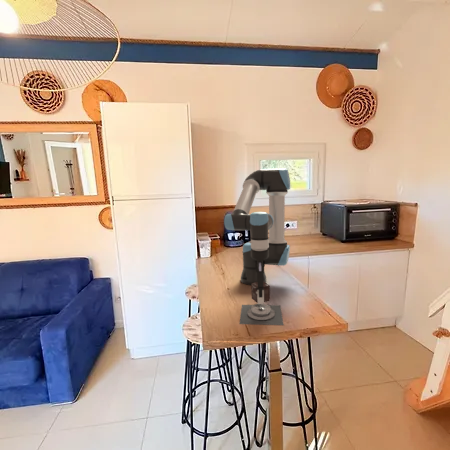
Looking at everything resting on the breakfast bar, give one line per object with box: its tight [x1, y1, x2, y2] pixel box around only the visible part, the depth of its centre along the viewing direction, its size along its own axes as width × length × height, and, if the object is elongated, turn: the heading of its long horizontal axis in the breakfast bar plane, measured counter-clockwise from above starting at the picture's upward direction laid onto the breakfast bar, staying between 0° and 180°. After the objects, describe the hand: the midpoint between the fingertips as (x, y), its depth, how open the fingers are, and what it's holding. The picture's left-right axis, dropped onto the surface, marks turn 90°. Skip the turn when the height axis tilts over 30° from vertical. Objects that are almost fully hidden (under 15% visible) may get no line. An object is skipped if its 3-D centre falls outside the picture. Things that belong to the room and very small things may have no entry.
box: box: [251, 281, 271, 304], centre depth 120 cm, size 6×6×7 cm
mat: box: [239, 304, 285, 326], centre depth 122 cm, size 18×18×1 cm
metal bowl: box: [247, 303, 275, 321], centre depth 122 cm, size 12×12×3 cm
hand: (260, 299), depth 121 cm, fingers closed on box, 8 cm apart
